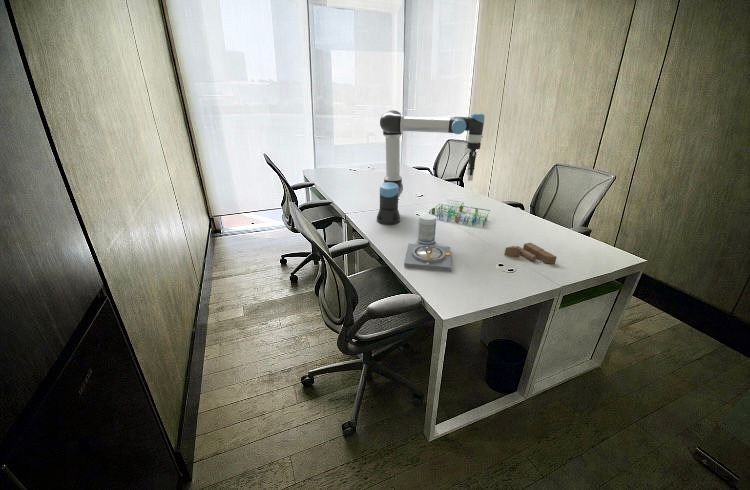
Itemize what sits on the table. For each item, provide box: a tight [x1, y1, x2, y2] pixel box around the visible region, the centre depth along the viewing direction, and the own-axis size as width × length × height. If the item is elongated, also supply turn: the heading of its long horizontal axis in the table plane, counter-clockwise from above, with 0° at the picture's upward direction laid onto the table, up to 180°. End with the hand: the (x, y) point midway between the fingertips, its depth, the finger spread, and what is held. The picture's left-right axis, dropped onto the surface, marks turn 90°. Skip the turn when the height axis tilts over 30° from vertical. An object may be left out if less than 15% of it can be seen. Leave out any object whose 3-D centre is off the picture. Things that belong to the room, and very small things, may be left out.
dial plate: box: [403, 243, 452, 272], centre depth 166 cm, size 22×22×3 cm
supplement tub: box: [417, 213, 437, 245], centre depth 182 cm, size 10×10×15 cm
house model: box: [428, 199, 491, 227], centre depth 221 cm, size 35×30×5 cm
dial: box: [416, 244, 441, 260], centre depth 163 cm, size 15×12×6 cm
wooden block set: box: [504, 242, 558, 265], centre depth 166 cm, size 17×6×18 cm
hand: (469, 177), depth 203 cm, fingers open, 13 cm apart
